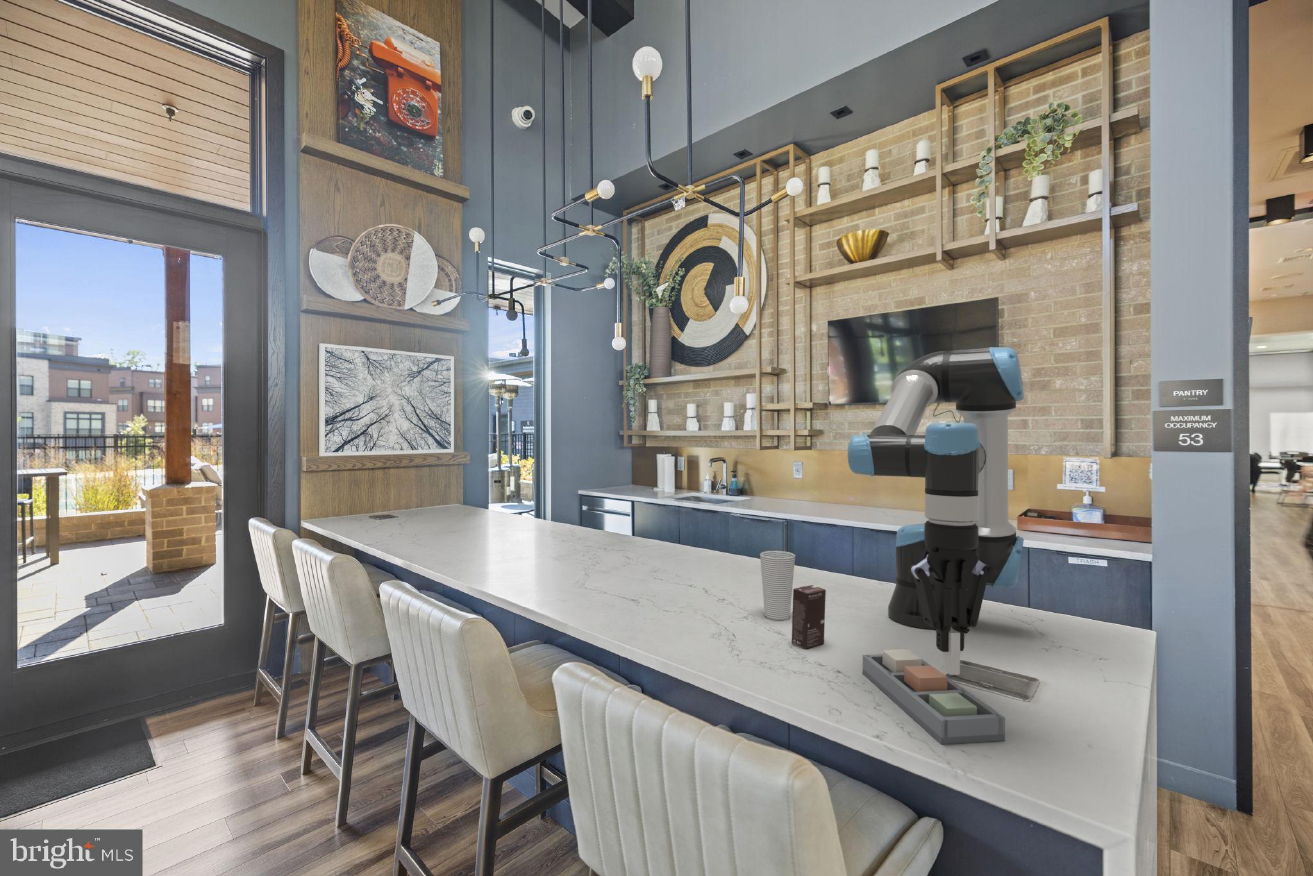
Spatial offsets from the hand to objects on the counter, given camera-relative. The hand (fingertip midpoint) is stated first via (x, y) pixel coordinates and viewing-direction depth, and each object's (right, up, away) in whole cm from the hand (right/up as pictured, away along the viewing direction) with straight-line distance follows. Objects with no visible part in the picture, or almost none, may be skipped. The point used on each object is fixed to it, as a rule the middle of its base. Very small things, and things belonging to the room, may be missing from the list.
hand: (950, 671), depth 91 cm
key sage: (0, -7, -1) cm, 7 cm away
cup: (-16, -8, +52) cm, 55 cm away
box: (-13, -8, +34) cm, 37 cm away
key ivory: (-2, -5, +14) cm, 15 cm away
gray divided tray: (-1, -8, +7) cm, 10 cm away
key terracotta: (-1, -5, +7) cm, 8 cm away
